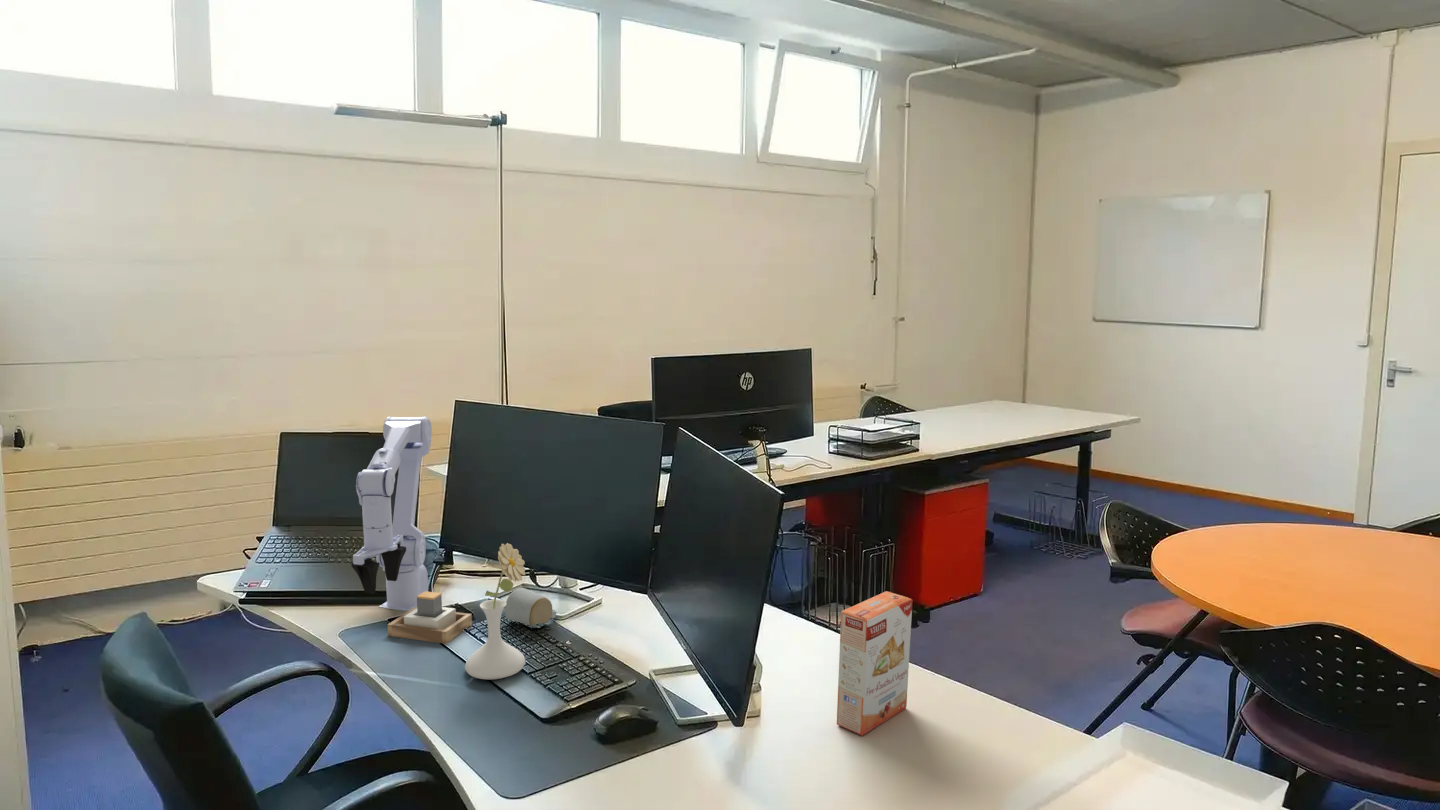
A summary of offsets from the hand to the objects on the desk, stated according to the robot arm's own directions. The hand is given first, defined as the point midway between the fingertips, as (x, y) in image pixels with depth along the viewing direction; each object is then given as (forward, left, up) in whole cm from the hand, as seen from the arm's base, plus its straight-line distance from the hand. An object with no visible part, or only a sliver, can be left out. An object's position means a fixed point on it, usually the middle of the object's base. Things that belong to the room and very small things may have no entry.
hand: (381, 586), depth 191 cm
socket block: (-2, +10, -9) cm, 14 cm away
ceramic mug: (-13, +29, -10) cm, 33 cm away
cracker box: (+8, +105, -10) cm, 106 cm away
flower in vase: (+10, +33, -10) cm, 36 cm away
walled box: (-2, +10, -10) cm, 14 cm away
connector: (-2, +10, -8) cm, 13 cm away
